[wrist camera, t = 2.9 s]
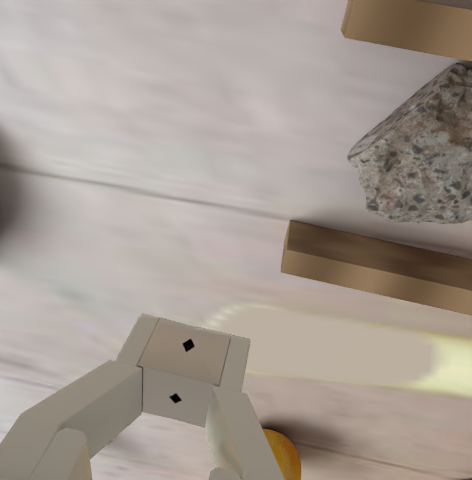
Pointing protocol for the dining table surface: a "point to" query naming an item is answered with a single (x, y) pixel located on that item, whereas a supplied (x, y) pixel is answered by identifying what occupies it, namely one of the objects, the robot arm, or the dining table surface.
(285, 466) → the fruit
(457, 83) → the rock
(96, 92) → the dining table surface
